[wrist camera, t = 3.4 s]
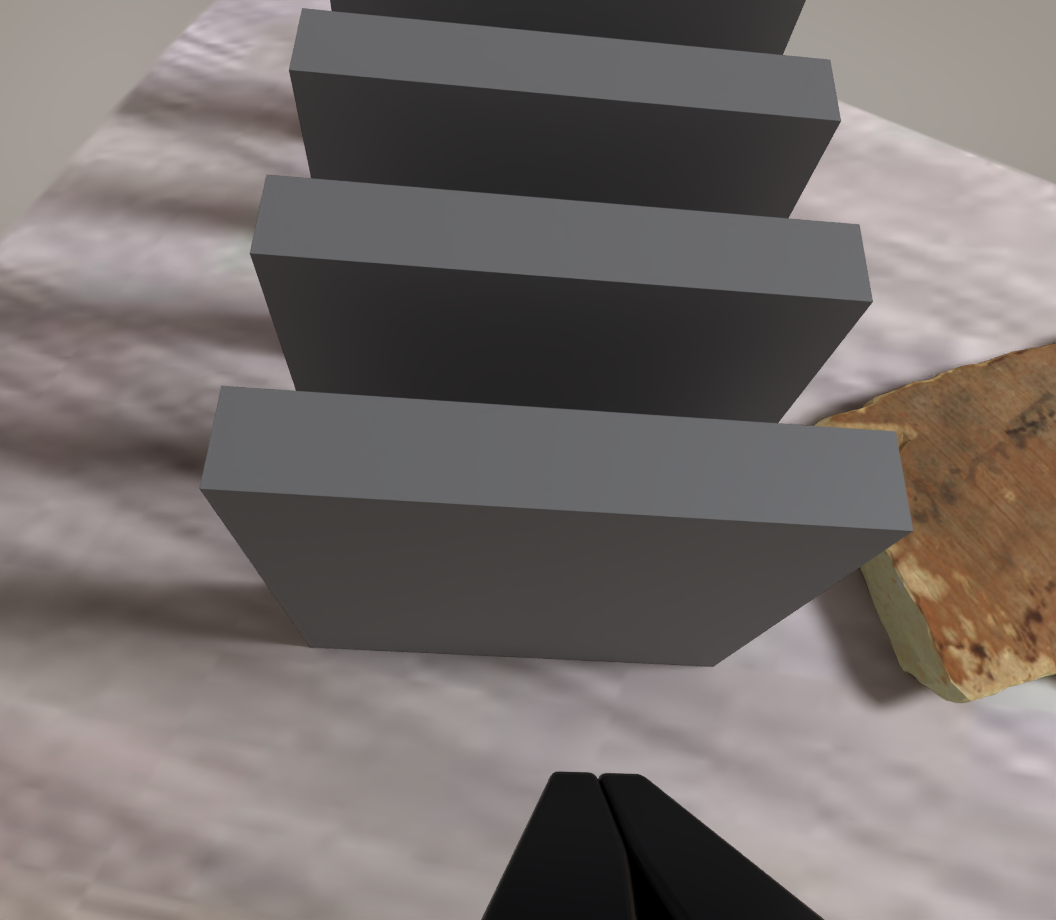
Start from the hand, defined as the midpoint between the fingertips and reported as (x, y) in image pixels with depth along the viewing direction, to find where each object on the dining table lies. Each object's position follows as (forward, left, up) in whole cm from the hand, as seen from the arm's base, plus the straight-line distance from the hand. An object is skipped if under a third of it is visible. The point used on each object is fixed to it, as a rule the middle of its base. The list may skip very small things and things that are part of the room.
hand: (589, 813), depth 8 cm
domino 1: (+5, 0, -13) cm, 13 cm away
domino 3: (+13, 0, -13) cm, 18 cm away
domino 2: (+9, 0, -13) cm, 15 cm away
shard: (+10, -13, -13) cm, 21 cm away
